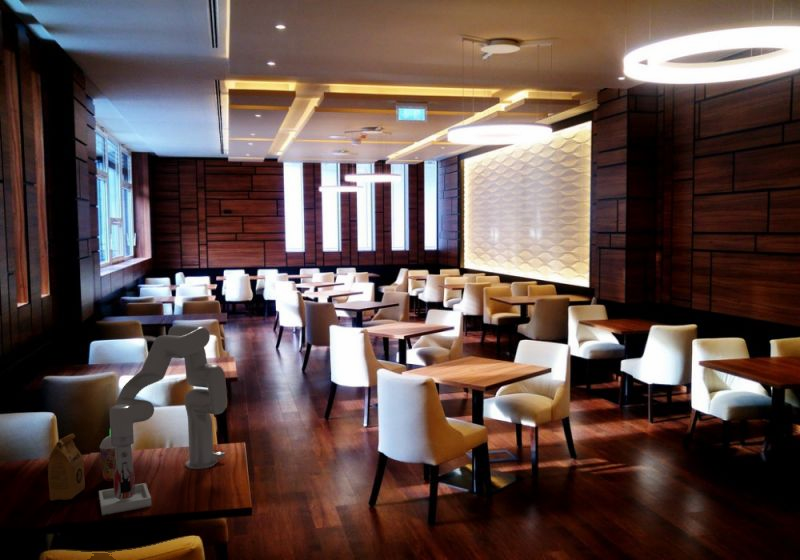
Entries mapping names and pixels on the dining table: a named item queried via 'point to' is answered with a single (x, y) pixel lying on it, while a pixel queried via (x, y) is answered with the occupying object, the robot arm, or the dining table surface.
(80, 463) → the coffee package
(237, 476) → the dining table surface
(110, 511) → the tray
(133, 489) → the soda can
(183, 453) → the dining table surface
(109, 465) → the smoothie
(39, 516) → the dining table surface
